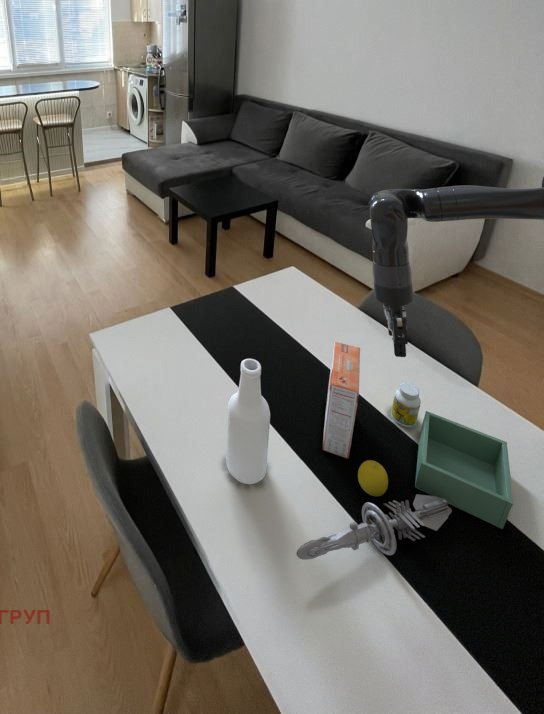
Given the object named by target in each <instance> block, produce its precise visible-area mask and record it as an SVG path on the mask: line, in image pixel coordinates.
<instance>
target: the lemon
mask: <svg viewBox="0 0 544 714" xmlns="http://www.w3.org/2000/svg"><path fill="white" fill-rule="evenodd" d="M388 477H389V476H388V473H387V471H386V469H385V468H384V466H383V465H382V464H380V462H378V461H375V460H372V459H367V460H365V461H364V462H362V463H361V464H360V466H359V468H358V471H357V480H358V483H359V485H360V487H361V489H362V490H363V491H364V492H365V493H366V494H368V495H369V496H371V497H381V496H383V495H385V493H386V491H387V490H388V486H389V478H388Z"/></svg>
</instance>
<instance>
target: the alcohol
mask: <svg viewBox="0 0 544 714" xmlns="http://www.w3.org/2000/svg"><path fill="white" fill-rule="evenodd" d="M261 375H262V365H261V363H260V361H258V360H256V359H254V358H245V359H243V360H242V361H241V363H240V376H239V377H240V378H239V383H238V390H237V391H235V393H234V394H232V396H231V397H230V399H229V402H228V404H227V412H226V413H227V417H226V418H227V420H226V426H227V427H226V455H225V456H226V458H225V462H226V467H227V470H228V472H229V474H230V475H231V477H233V478H234V479H235V480H236V481H238V482H239V483H241V484H245V485H254V484H257V483H259V482H260V481H262V480H263V479H264V477H265V476H266V473H267V468H268V467H267V464H268V453H269V452H268V451H269V439H270V438H269V436H270V426H271V410H270V406H269V403H268V401H267V400H266V398H264V396H263V395H262V386H261Z"/></svg>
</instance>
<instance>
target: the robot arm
mask: <svg viewBox="0 0 544 714" xmlns="http://www.w3.org/2000/svg"><path fill="white" fill-rule="evenodd" d="M367 206H368V211H369V212H368V213H369V220H370V221H369V222H370V227H371V235H372V240H371V251H372V279H373V293H374V299H375V300H376V301H377V302H379V303H381V304H383V305H382V307H383V311H384V316H385V318H386V320H387V332H388V335H389V336H390V337H391V339H392V342H393V343H392V344H393V354H394V357H397V358H406V357H407V347H406V345H408V344H409V339H408V325H407V318H406V317H407V311H406V309H405V307H404V306H407V305H409V304H411V303H413V300H414V292H413V276H412V268H411V264H410V262H411V261H410V252H409V244H408V231H409V230H408V229H409V219H420V220H423V221H425V222H430V223H440V222H452V221H454V222H456V221H466V220H467V221H468V220H491V219H492V220H493V219H494V220H504V219H505V220H533V221H535V220H537V221H538V220H539V221H544V176H543V177H542V181H541V187H534V188H533V187H532V188H506V187H505V188H504V187H493V186H484V185H483V186H482V185H452V186H443V187H442V186H441V187H433V188H426V189H425V188H424V189H417V188H391V189H384V190H379V191H378V192H375V193H374V194H373V195H371V197H370V198H369V200H368V205H367Z"/></svg>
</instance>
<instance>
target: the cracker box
mask: <svg viewBox="0 0 544 714" xmlns="http://www.w3.org/2000/svg"><path fill="white" fill-rule="evenodd" d="M331 357H332V358H331V363H330V364H331V365H330V372H329V379H328V386H327V387H328V388H327V397H326V406H325V414H324V415H325V416H324V424H323V425H324V427H323V438H322V439H323V440H322V451H324V452H327V453H329V454H332V455H335V456H338V457H341V458H344V459H347V460H349V458H350V452H351V446H352V439H353V432H354V426H355V421H356V415H357V408H358V402H359V397H360V371H361V370H360V369H361V366H360V365H361V364H360V363H361V347H359V346H354V345H350V344H346V343H342V342H338V341H334V343H333V351H332V356H331Z"/></svg>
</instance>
